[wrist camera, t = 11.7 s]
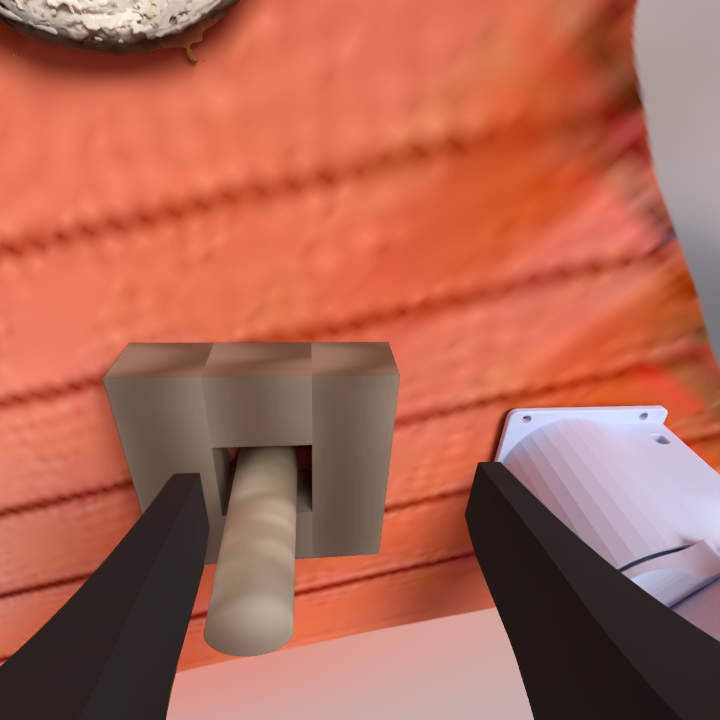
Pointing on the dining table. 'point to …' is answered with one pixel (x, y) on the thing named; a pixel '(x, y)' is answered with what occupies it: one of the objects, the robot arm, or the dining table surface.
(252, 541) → the beech peg
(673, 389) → the dining table surface
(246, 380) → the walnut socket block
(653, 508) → the robot arm
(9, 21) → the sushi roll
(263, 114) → the dining table surface
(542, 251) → the dining table surface
